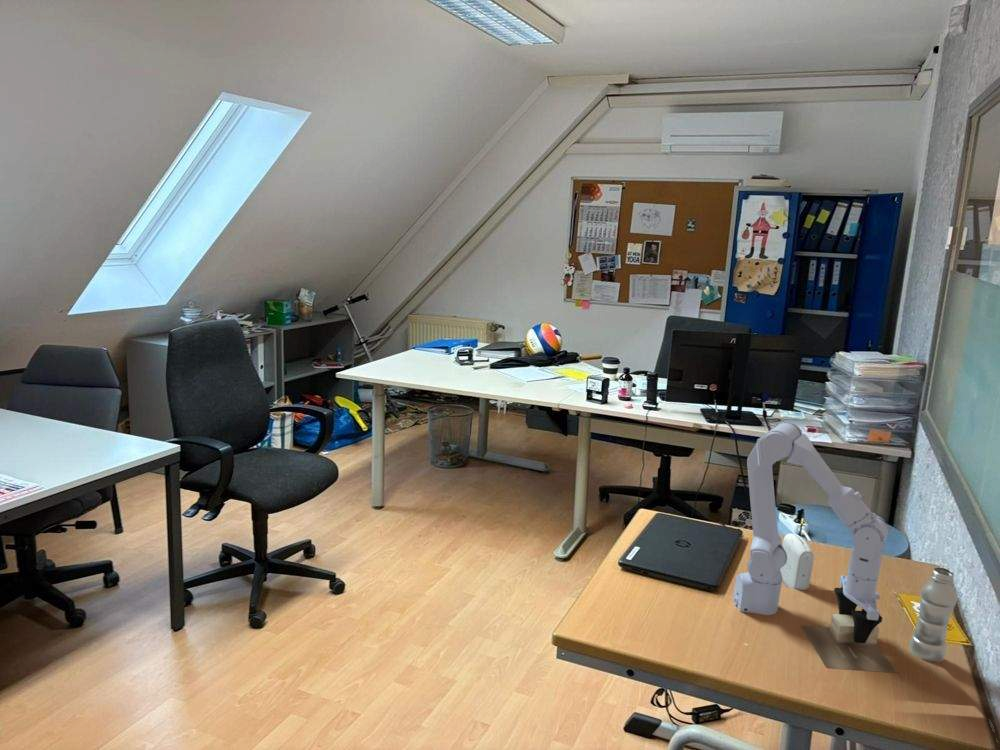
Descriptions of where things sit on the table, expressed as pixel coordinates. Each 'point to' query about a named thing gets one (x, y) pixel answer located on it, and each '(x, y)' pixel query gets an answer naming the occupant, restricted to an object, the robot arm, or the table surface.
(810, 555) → the photo printer
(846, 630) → the block
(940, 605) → the plastic bottle
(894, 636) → the table surface
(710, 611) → the table surface
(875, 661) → the grey flat square block
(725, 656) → the table surface
